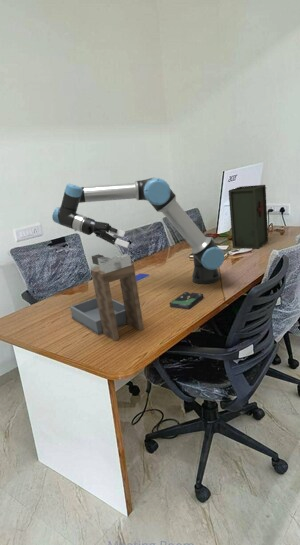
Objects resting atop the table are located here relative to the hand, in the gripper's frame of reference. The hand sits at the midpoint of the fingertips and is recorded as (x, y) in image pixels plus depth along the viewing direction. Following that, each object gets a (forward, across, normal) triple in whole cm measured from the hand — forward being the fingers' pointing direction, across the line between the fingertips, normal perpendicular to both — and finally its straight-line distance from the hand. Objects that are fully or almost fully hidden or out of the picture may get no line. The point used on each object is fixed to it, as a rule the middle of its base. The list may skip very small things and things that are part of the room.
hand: (126, 240), depth 168 cm
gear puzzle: (+34, -125, +66) cm, 146 cm away
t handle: (+1, +14, -17) cm, 22 cm away
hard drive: (0, -58, -3) cm, 58 cm away
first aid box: (+57, -94, +57) cm, 124 cm away
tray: (+2, -12, -36) cm, 38 cm away
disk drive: (+35, -18, -14) cm, 42 cm away
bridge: (+15, +1, -38) cm, 41 cm away
